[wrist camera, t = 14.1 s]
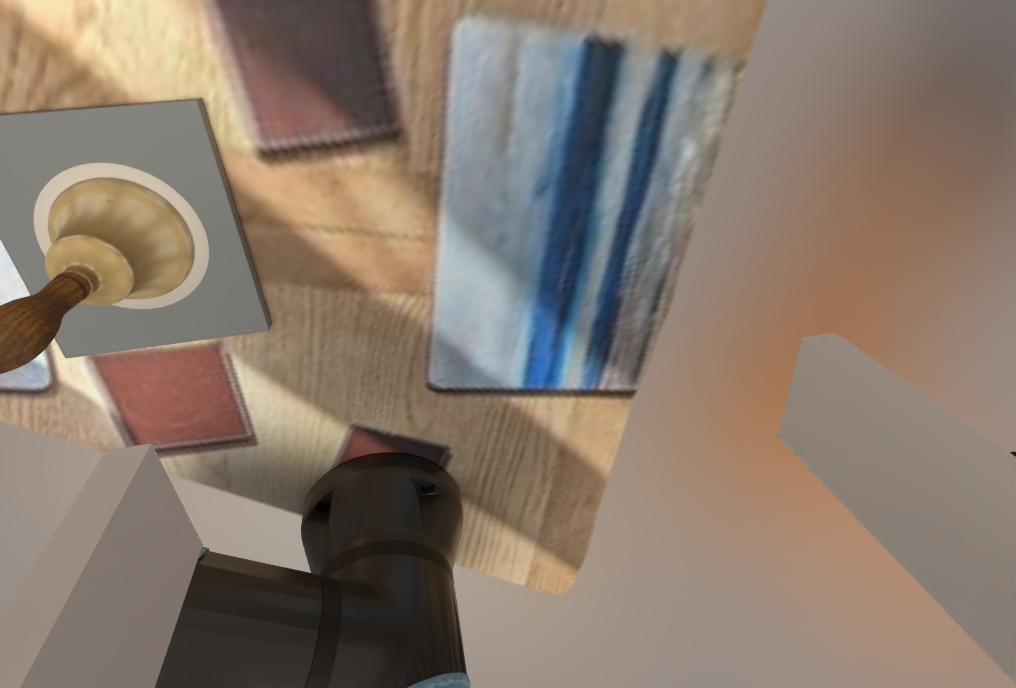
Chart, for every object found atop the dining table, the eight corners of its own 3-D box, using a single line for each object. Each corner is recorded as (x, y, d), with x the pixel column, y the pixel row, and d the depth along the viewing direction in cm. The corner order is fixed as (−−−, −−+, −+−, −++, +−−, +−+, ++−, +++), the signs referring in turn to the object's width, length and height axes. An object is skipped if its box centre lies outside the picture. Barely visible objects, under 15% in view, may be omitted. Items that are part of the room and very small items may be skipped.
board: (271, 323, 43) (268, 331, 42) (73, 349, 41) (64, 359, 40) (202, 98, 34) (196, 100, 33) (-51, 117, 32) (-66, 121, 31)
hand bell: (93, 309, 38) (-61, 469, 25) (19, 191, 34) (-215, 307, 20) (215, 283, 39) (131, 424, 26) (159, 165, 35) (22, 259, 21)
